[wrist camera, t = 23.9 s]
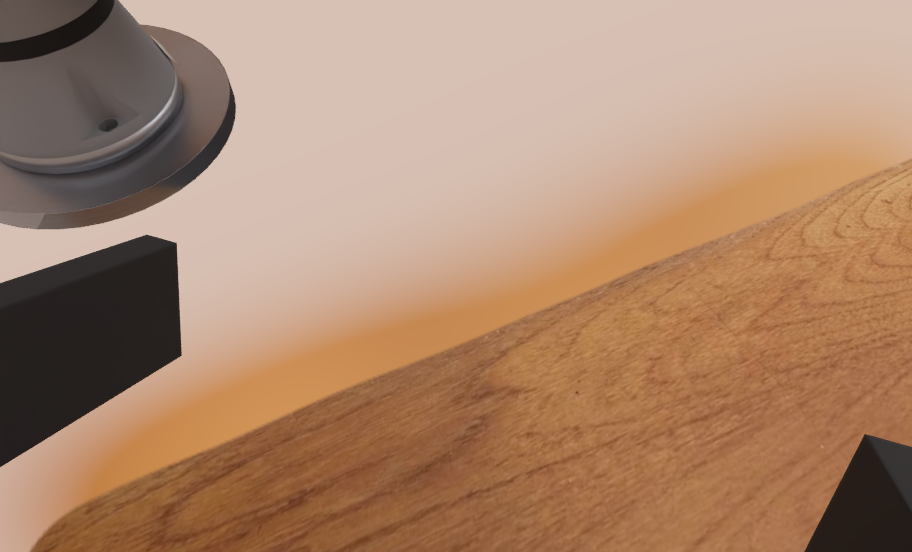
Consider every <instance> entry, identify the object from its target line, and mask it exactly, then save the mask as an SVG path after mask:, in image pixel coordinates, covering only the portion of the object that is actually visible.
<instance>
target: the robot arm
mask: <svg viewBox="0 0 912 552" xmlns="http://www.w3.org/2000/svg"><path fill="white" fill-rule="evenodd" d="M150 36H151V35H150ZM151 37H152V36H151ZM152 38H153V37H152ZM153 39H154V38H153ZM154 40H155V39H154ZM155 42H156V43H157V44H156V43H155ZM155 42H154V41H153V40H152V39H151V38H150V37H149V35H148V34H147V33H146V32H145V31H144V29H143V28H142V27H141V26H140V25H139V23H138V22H137V21H136V20H135V19H134V18H133V16H131V14H130V13H129V12H128V11H127V10H126V9H125V8H124V7H123V5H122V4H121V3H120V2H119V1H118V0H0V160H1V161H3V162H4V163H6V164H8V165H10V166H13V167H15V168H18V169H21V170H25V171H30V172H35V173H45V174H65V173H75V172H82V171H87V170H92V169H96V168H100V167H103V166H106V165H109V164H112V163H115V162H117V161H120V160H122V159H124V158H127V157H129V156H131V155H133V154H135V153H136V152H138V151H140V150H141V149H143V148H145V147H146V146H148V145H149V144H150V143H152V142H153V141H154V140H156V139H157V138H158V137H159V136H160V135H161V134H162V133H163V132H164V131H165V130H166V129H167V128H168V127H169V126H170V125H171V123H172V122H173V120H174V119H175V117H176V115H177V114H178V112H179V109H180V106H181V103H182V96H183V91H182V85H181V82H180V79H179V77H178V75H177V72H176V70H175V68H174V66H173V63H172V61H171V60H170V58H171V59H172V60H174V59H173V58H172V57H171V55H170V54H169V53H168V52H167V51H166V49H165V48H164V47H163V46H162V45H161V44H160V43H159V42H158V41H157V40H155ZM167 55H168V56H169V57H170V58H169V57H168V56H167ZM174 61H175V60H174ZM180 356H181V333H180V310H179V288H178V266H177V244H176V243H174V242H171V241H167V240H164V239H160V238H157V237H153V236H149V235H145V236H142V237H139V238H136V239H133V240H130V241H127V242H124V243H121V244H118V245H115V246H111V247H109V248H106V249H102V250H100V251H96V252H93V253H90V254H87V255H84V256H81V257H79V258H75V259H72V260H69V261H66V262H63V263H60V264H57V265H54V266H51V267H48V268H45V269H42V270H39V271H36V272H33V273H30V274H27V275H24V276H21V277H18V278H15V279H12V280H9V281H6V282H3V283H0V467H1V466H3V465H4V464H6V463H8V462H9V461H11V460H12V459H14V458H16V457H17V456H19V455H21V454H22V453H24V452H26V451H27V450H29V449H30V448H32V447H34V446H35V445H37V444H38V443H40V442H42V441H43V440H45V439H47V438H48V437H50V436H52V435H53V434H55V433H56V432H58V431H60V430H61V429H63V428H64V427H66V426H68V425H69V424H71V423H73V422H74V421H76V420H77V419H79V418H81V417H82V416H84V415H86V414H87V413H89V412H90V411H92V410H94V409H95V408H97V407H98V406H100V405H102V404H104V403H105V402H107V401H108V400H110V399H112V398H113V397H115V396H117V395H118V394H120V393H122V392H123V391H125V390H126V389H128V388H130V387H131V386H133V385H135V384H136V383H138V382H139V381H141V380H143V379H144V378H146V377H148V376H149V375H151V374H152V373H154V372H156V371H157V370H159V369H161V368H162V367H164V366H165V365H167V364H169V363H170V362H172V361H173V360H175V359H177V358H178V357H180ZM805 552H912V447H910V446H906V445H902V444H899V443H895V442H891V441H888V440H884V439H881V438H877V437H873V436H870V435H866V434H865V435H864V437H863V439H862V441H861V443H860V445H859V447H858V449H857V451H856V453H855V454H854V456H853V458H852V460H851V462H850V464H849V466H848V468H847V470H846V472H845V474H844V476H843V478H842V480H841V482H840V484H839V486H838V488H837V489H836V491H835V493H834V495H833V497H832V499H831V501H830V503H829V505H828V507H827V509H826V511H825V513H824V515H823V517H822V519H821V521H820V522H819V524H818V526H817V528H816V530H815V532H814V534H813V536H812V538H811V540H810V542H809V544H808V546H807V548H806V550H805Z"/></svg>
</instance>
